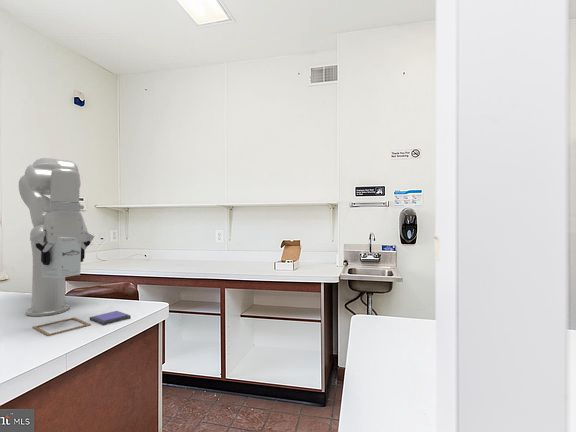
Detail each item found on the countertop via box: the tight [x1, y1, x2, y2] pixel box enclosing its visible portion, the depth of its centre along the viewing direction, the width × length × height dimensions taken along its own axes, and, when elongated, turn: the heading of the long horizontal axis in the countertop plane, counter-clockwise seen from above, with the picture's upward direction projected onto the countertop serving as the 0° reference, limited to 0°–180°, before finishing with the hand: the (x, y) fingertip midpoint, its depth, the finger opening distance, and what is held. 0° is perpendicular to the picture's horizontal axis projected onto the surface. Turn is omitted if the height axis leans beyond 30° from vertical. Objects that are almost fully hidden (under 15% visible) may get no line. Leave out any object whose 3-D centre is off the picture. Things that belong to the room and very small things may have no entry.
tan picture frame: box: [31, 316, 92, 337], centre depth 99 cm, size 12×12×1 cm
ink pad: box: [89, 310, 131, 326], centre depth 107 cm, size 9×9×1 cm
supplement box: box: [42, 237, 82, 279], centre depth 99 cm, size 7×7×13 cm
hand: (63, 262), depth 99 cm, fingers closed on supplement box, 8 cm apart
